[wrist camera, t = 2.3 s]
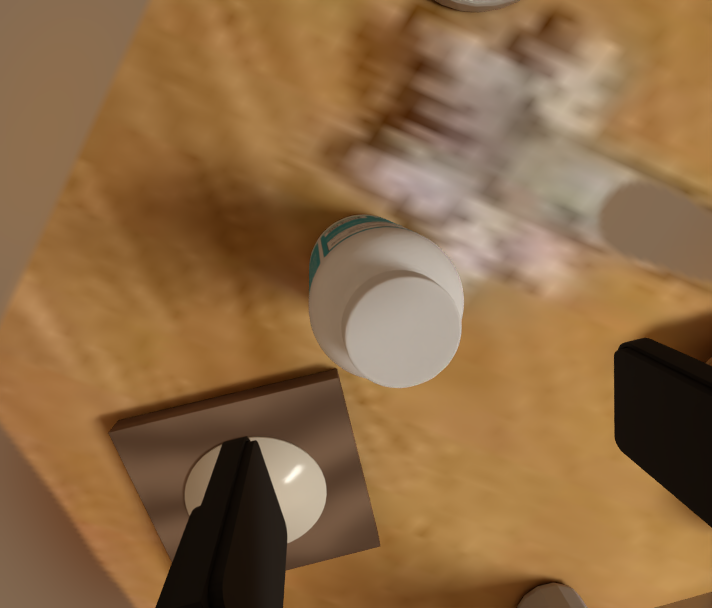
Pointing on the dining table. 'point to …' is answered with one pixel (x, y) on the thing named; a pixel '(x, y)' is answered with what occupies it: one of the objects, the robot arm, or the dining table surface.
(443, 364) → the pill bottle
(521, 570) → the dining table surface
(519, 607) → the water bottle
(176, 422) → the serving board
